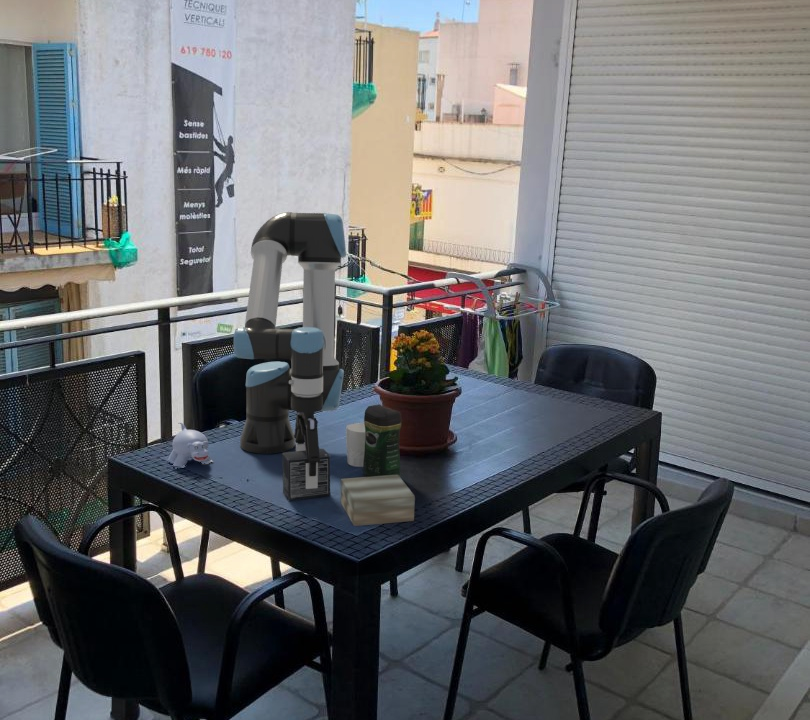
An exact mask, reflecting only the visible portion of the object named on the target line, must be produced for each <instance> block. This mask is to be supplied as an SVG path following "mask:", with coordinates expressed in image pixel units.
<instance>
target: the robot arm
mask: <svg viewBox="0 0 810 720" xmlns="http://www.w3.org/2000/svg"><path fill="white" fill-rule="evenodd" d="M250 256H251V258H252V260H253V262H252V270H251V278H250V283H249V293H248V299H247V307H246V313H245V322H244V327H243V326H242V327H237V328H236V329H235V330H234V333H233V353H234V355H235V357H236V358H238V359H247V360H290V361H291V368H290V365H289V363H288V362H285V361H268V362H262V363H259V364H255V365H253V366H251V367H249V369H248V370H247V372H246V379H245V389H246V390H245V391H246V392H245V396H246V397H245V400H246V404H245V405H246V409H245V410H246V416H245V417H246V420H245V423H244V426H243V429H242V432H241V435H240V439H239V440H240V448H241V449H242V450H244V451H246V452H249V453H254V454H261V455H263V454H264V455H265V454H267V455H269V454H270V455H271V454H279V453H285V452H287V451H288V452H289V451H290V450H292V449H293V448H295V451H305V450H306V456H307V460H304V463H306V489H313V488H318V462H320V456H319V449H320V448H319V447H320V446H319V433H318V423H319V421H318V420H317V418H316V417H315V416H314V414H315V413H317V412H320V413H322V412H334V411H336V410H338V408H339V407H340V401H341V395H342V388H343V381H344V374H345V370H344V369H342V368H340V362H339V361H338V360H337V359H336V358H335V356H334V354H335V349H334V348H335V301H336V300H335V293H336V291H335V290H336V286H335V285H336V270H337V269H338V267H339V266H340V265H341V262H342V258H345V257H346V256H347V251H346V238H345V231H344V223H343V219H342V217H341V216H340V215H339V214H335V213H334V214H333V213H326V212H323V213H322V212H316V213H315V212H289V211H288V212H282V213H278V214H275V215H274V216H272V217H271V218H269V219H268V220H266V221H265V223H263V224H262V226H260V228H259V229H258V230H257V231H256V234H255V235H254V237H253V239H252V243H251V249H250ZM288 256H291V257H297V259H298V260H297V264H298V265H300V267H302V269H303V278H302V279H303V281H302V282H303V285H302V286H303V287H302V289H303V290H302V291H303V294H302V300H303V301H302V327H297V328H277V327H276V326H277V317H278V309H279V308H278V306H279V300H280V299H279V298H280V289H281V279H282V272H283V271H282V270H283V264H284V263H285V262H286V260H287V258H288ZM290 411H294V412H296V417H295V427H294V431H293V427H292V424H291V421H290V418H289V416H290V415H289V412H290ZM313 456H315V457H313Z"/></svg>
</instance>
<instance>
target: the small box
mask: <svg viewBox="0 0 810 720" xmlns="http://www.w3.org/2000/svg"><path fill="white" fill-rule="evenodd" d="M319 456H320V462H318V488H313V489H306V463H304V460H307V456H306V450H305V451H296V450H295V451H288V452H287V451H285V452H282V494H283V495H284V497H285V498H286V497H287V498H286V499H287V501H288V500H289V501H288V502H293V500H295V501H301V500H309V499H311V500H312V499H317V498H319V499H320V498H326V497H327V498H328V497H331V455H330V454H329V453H328V452H327V451H326V450H325V449H324V448H319ZM313 457H315V456H313Z"/></svg>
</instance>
